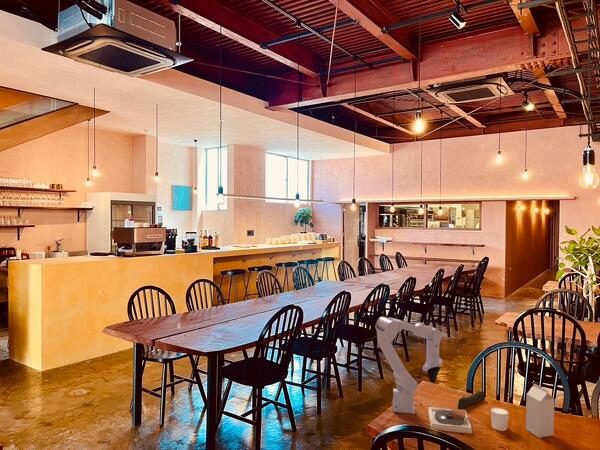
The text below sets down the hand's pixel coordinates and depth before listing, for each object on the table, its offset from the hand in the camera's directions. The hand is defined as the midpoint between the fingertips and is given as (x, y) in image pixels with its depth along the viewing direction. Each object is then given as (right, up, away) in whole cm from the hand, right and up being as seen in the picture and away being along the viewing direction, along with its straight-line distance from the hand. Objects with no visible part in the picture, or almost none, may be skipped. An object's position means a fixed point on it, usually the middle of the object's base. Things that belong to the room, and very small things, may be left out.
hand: (432, 382), depth 204 cm
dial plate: (+2, -11, -17) cm, 20 cm away
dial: (+2, -10, -17) cm, 19 cm away
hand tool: (+18, -11, 0) cm, 21 cm away
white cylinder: (+21, -12, -21) cm, 32 cm away
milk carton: (+36, -12, -25) cm, 45 cm away
